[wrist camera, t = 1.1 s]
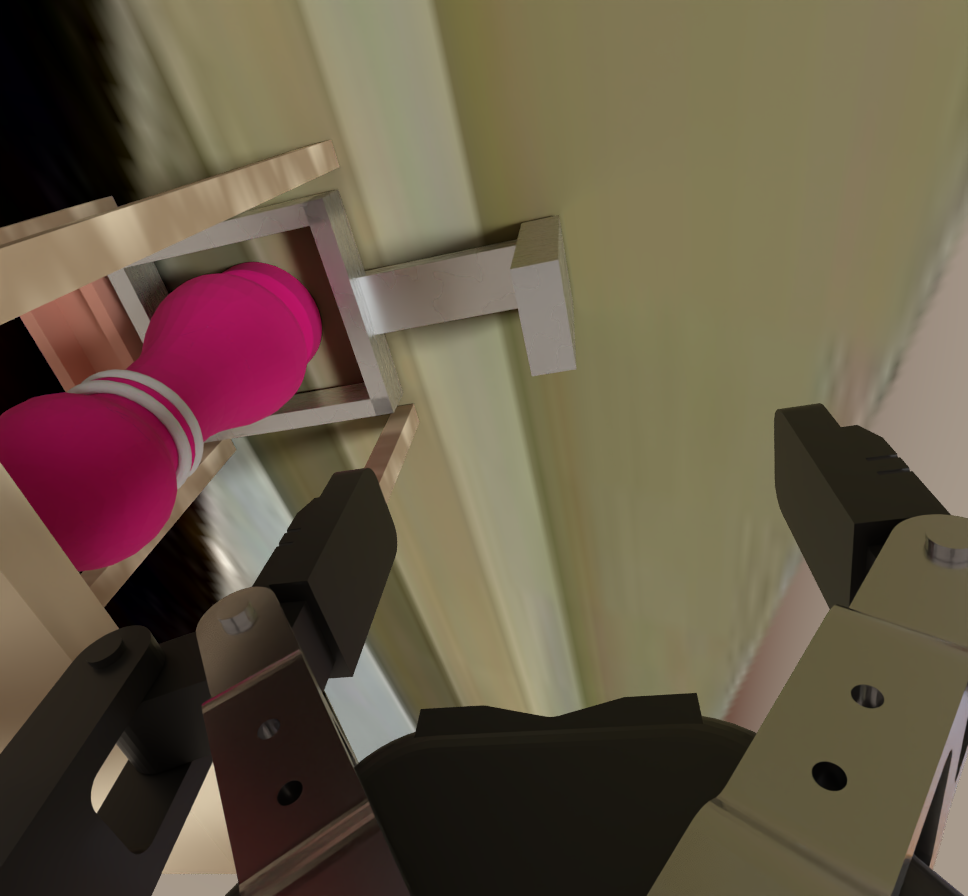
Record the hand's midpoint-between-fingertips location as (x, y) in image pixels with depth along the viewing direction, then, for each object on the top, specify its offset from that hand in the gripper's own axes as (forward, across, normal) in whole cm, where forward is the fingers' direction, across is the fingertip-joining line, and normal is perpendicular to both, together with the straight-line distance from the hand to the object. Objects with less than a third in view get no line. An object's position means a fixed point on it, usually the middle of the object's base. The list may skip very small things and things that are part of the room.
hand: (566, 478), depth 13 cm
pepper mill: (+21, +16, +1) cm, 27 cm away
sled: (+21, +11, +1) cm, 24 cm away
